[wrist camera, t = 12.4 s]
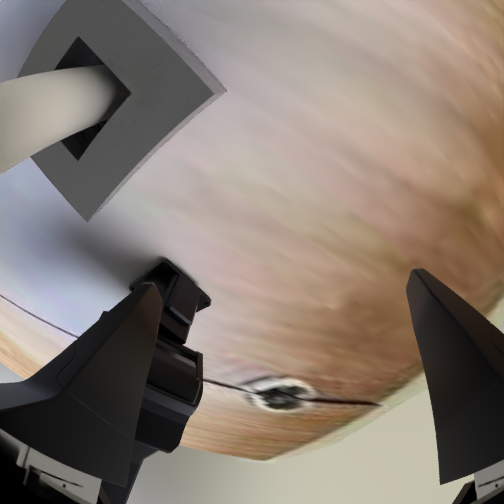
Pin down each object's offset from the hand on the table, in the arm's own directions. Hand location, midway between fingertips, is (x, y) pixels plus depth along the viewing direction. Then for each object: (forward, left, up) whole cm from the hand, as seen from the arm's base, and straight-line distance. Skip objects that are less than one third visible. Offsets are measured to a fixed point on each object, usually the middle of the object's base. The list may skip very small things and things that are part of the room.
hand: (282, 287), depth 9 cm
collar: (-6, +13, -12) cm, 19 cm away
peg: (-6, +13, -12) cm, 19 cm away
